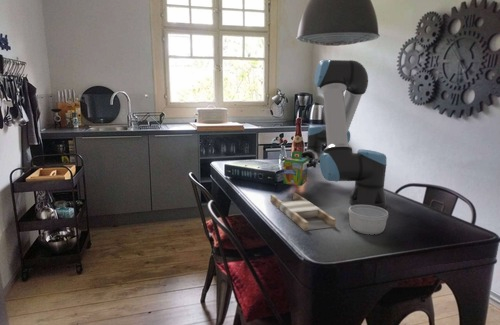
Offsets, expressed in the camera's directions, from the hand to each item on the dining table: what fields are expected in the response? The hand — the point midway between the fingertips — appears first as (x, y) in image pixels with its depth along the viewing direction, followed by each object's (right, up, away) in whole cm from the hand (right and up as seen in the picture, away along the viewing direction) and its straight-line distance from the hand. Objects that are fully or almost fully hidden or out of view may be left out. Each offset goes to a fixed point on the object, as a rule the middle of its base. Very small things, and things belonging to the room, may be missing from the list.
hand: (292, 165), depth 157 cm
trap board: (0, -19, -20) cm, 27 cm away
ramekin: (+22, -22, -34) cm, 46 cm away
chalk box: (+2, -8, +6) cm, 10 cm away
